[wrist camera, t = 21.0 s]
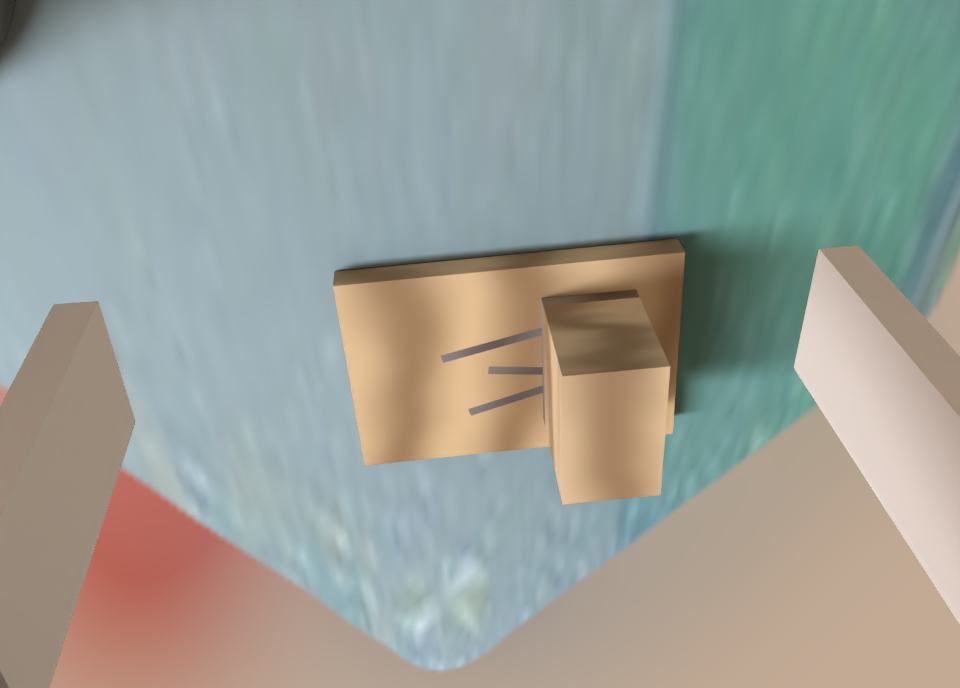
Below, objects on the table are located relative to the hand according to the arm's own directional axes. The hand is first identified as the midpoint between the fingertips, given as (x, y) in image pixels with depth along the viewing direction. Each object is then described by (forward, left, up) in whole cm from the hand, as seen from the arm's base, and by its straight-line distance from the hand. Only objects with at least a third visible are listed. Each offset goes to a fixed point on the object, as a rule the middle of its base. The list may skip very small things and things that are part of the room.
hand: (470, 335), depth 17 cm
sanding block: (+7, -20, -26) cm, 34 cm away
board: (+3, -20, -28) cm, 34 cm away
